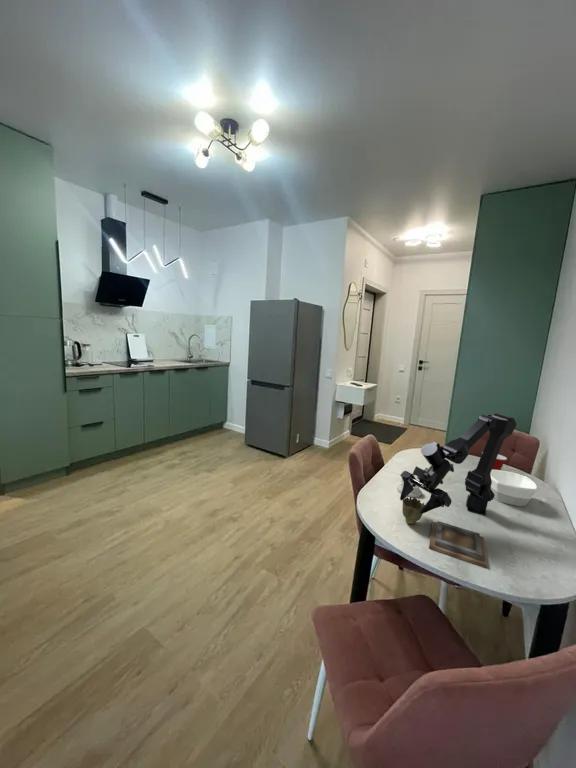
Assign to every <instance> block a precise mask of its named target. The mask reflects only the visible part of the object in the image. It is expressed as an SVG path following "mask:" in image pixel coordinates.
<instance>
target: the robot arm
mask: <svg viewBox="0 0 576 768" xmlns="http://www.w3.org/2000/svg"><path fill="white" fill-rule="evenodd" d="M516 427H517V422H516V420H515V418H514V417H512V416H508V415H505V414H502V413H497V412H496V413H494V414H481V415H479V416H478V419H477V420H476V421H475V422H474V423H473V424H472V425H470V427H469V428H468V429H467V430H465V432H463V433H462V435H460V436H459V437H457V438H456V439H452V440H450V441H448V442H447V443H446V444H445V445H444V444H443V445H442V446H441V444H440V443H439V442H437V441H436V440H435V441H433V442H430V443H425V444H424V445H423V446H422V447H421V449H420V452H421V454H422V456H423V457H424V459H425V461H427V463H428V464H429V465H430V466H429V468H428V467H425V468H424V469H423V468H420V467H418V466H415V467H414V469H413V472H409V471H407V470H403V471H402V472H401V473H400V477H401V481H402V480H403V482H404V485H403V490H402V493H400V497H399V500H400V501H401V502H403V499H405V497H406V498H407V497H409V496H408V495H409V494H410V493H411V492H412V491H413V490H414V488H413V487H415V486H418V487H419V489H422V490H424V491H426V492H427V493H429V494H430V497H429V500H428V501H427V502H426V503H425V504H424V505H425V506H424V507H423V508H422V510H421V514H422V515H424V514H425V513H429V512H430V511H432V510H434V509H435V510H436V509H437V508H444V507H446V508H449V507H450V506H451V505H452V502H453V501H452V499H451V497H450V494H448V492H446V491H445V490H443V489H442V488H439V487H438V486H439V485H443V484H444V481H443V480H444V478H445V477H446V476H447V475H448V473H449V472H451V473H454V472H455V468H454V464H456V465H460V464H462V463H463V462H464V461H465V460H466V459H467V457H468V456H469V453H470V450H471V448H472V447H473V446H474V445H475V444H476V443H477V442H478V441H479V440H480V439H481V438H482V437H484V436H485V434H486V433H489V435H488V438H487V439H486V443H485V446H484V448H483V451H482V452H483V453H482V452H481V455H480V458H479V461H478V464H477V466H476V468H474V469H473V470H472V471H471V470H468V472H467V475H466V477H465V479H464V481H465V482H464V485H465V491H466V492H468V493H469V494H467V496H466V503H465V507H466V509H467V511H468V512H472V513H475V514H479V515H482V516H487V507H488V504H489V502H492V501H493V500H494V499H495V498H494V496H495V495H494V493H493V491H492V490H491V484H492V480H491V476H490V473H491V471H492V468H493V466H494V463H495V461H496V458H497V456H498V454H499V453H500V452H501V448H502V447H503V446H502V445H503V444H504V442H505V441H504V440H506V438H509V437H510V436H511V435H512V434H513V432H514V430H515V428H516ZM451 462H452V463H451ZM453 463H454V464H453ZM437 487H438V488H437Z"/></svg>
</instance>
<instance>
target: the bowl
mask: <svg viewBox="0 0 576 768" xmlns="http://www.w3.org/2000/svg"><path fill="white" fill-rule="evenodd" d="M490 476H491V480H492V484H491V490H492V491H493V493H494V495H495V496H494V498H493V499H495V500H497V502H499V503H504V504H506V505H510V506H517V507H525V506H526V505H527V504H528V503H529V501H530V500H531V499H532V497H534V495H535V494H536V493H537V491H538V486H537V484H536V483H535V482H534V481H533V480H532V479H531V478H529V477H527V476H526V475H522V474H519V473H516V472H512V471H508V470H502V469H501V470H492V471H491V473H490Z"/></svg>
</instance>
